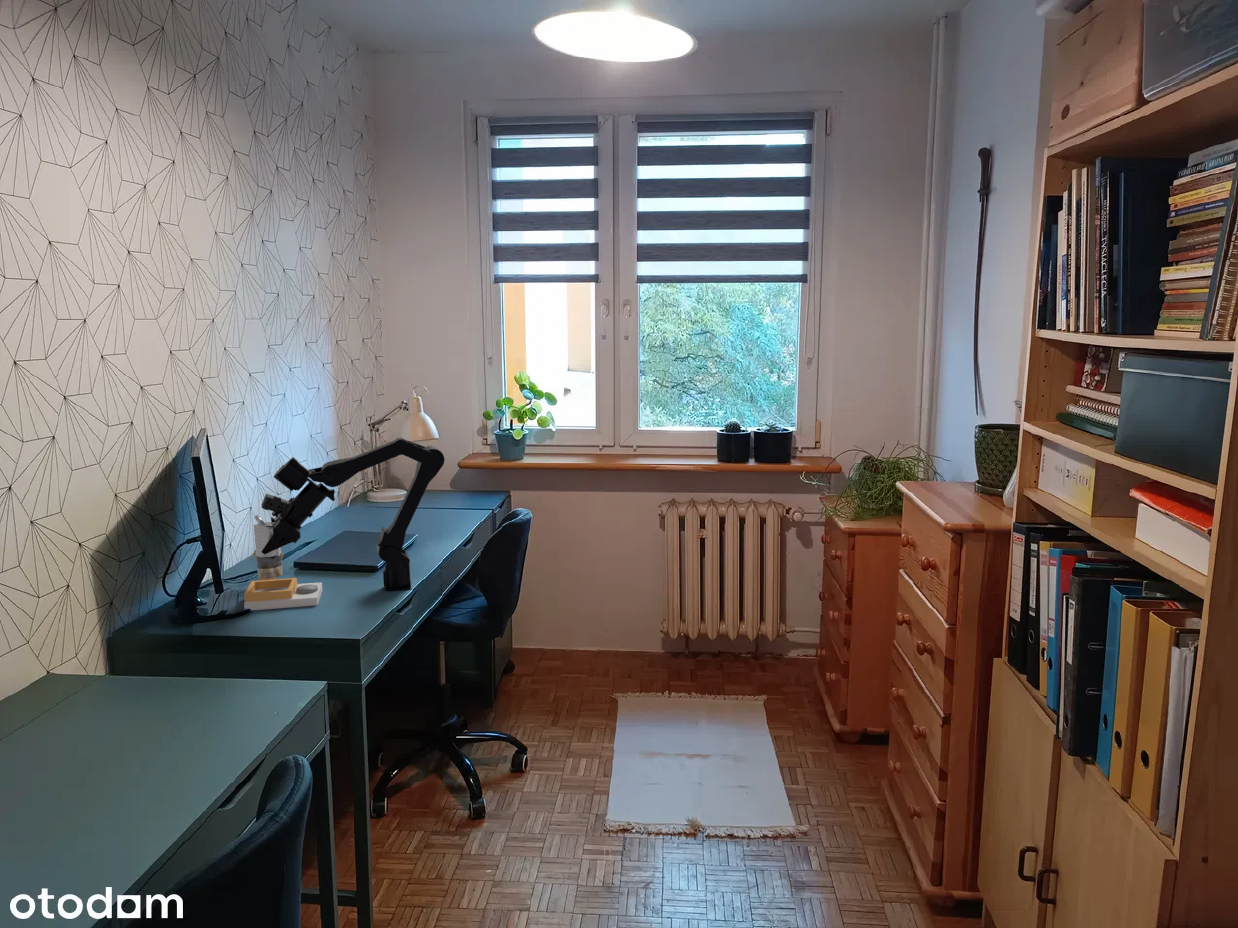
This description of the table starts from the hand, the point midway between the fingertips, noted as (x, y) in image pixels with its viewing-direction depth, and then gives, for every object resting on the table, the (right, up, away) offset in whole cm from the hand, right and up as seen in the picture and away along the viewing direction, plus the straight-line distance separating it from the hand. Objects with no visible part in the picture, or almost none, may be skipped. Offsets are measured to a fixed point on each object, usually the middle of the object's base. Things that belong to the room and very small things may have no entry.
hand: (262, 550), depth 222 cm
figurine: (-5, -11, +17) cm, 21 cm away
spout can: (+1, -6, +2) cm, 7 cm away
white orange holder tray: (+4, -13, +4) cm, 14 cm away
